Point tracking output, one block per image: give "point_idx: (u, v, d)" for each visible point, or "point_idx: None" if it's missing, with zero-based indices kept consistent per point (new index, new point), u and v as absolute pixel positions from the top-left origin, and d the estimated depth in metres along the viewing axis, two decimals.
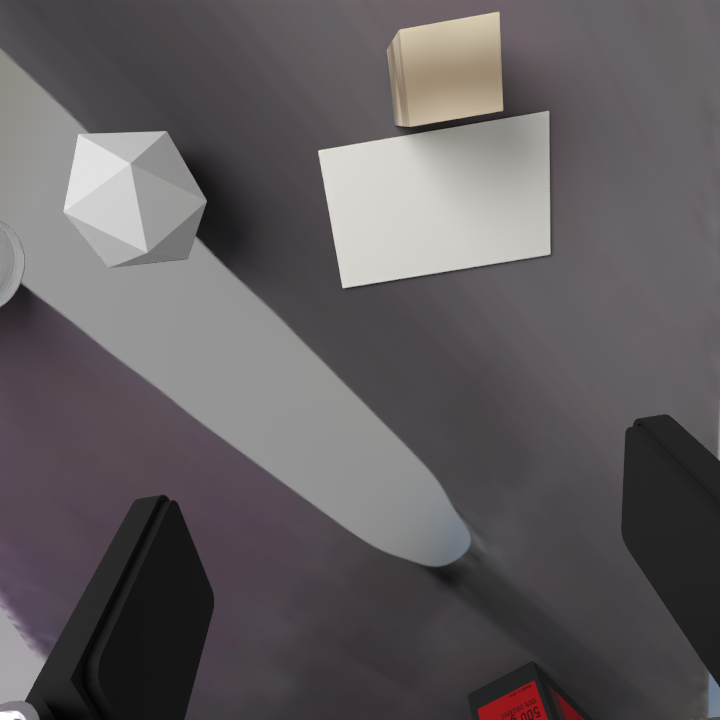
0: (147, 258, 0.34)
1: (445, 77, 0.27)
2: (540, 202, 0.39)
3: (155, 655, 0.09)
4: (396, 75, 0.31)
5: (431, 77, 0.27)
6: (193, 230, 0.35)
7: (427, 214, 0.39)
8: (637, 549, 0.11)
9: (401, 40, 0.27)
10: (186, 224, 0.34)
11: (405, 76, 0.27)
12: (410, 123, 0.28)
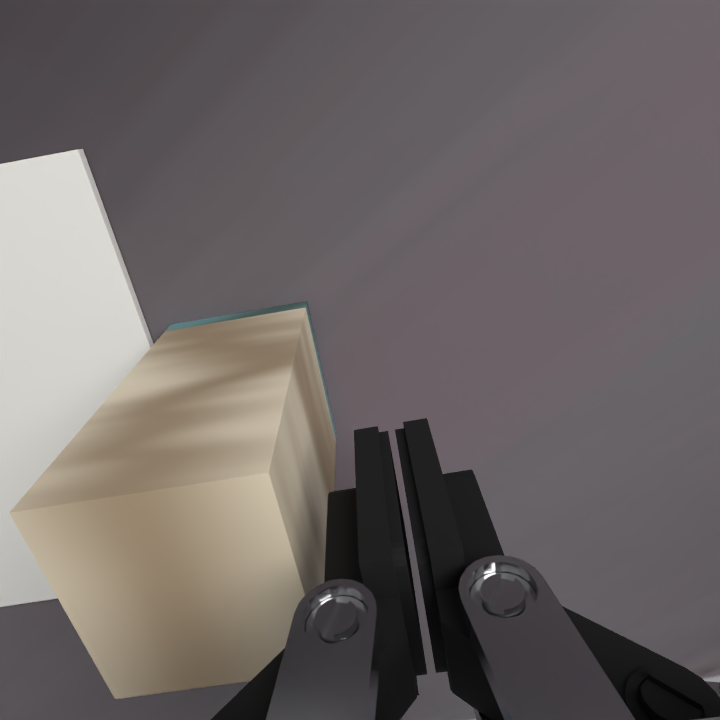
0: None
1: (164, 584, 0.10)
2: None
3: None
4: (218, 381, 0.12)
5: (159, 555, 0.09)
6: None
7: (1, 402, 0.18)
8: None
9: (241, 478, 0.09)
10: None
11: (147, 494, 0.09)
12: (20, 512, 0.09)
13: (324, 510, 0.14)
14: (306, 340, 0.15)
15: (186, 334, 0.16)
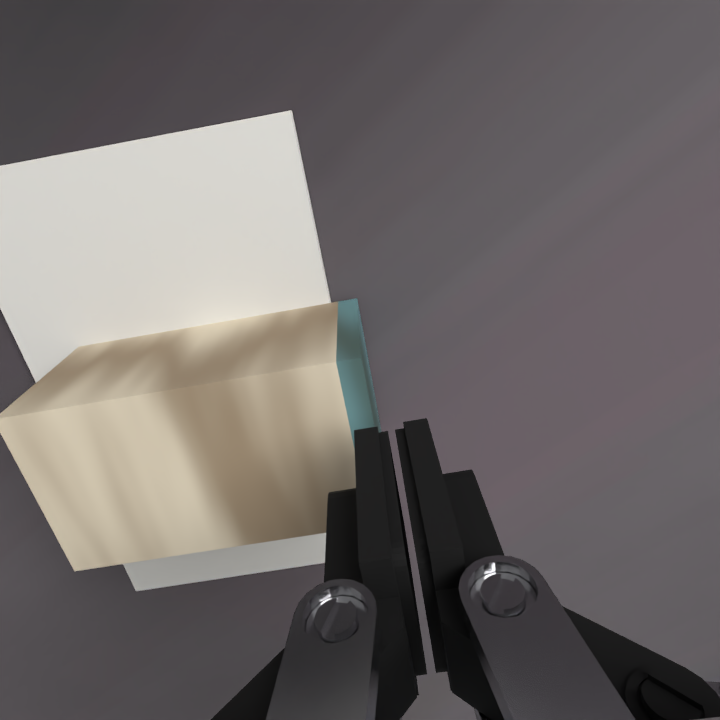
0: None
1: None
2: (228, 563, 0.21)
3: None
4: (174, 361, 0.14)
5: None
6: None
7: None
8: None
9: (6, 411, 0.13)
10: None
11: (39, 382, 0.15)
12: None
13: (190, 523, 0.14)
14: (285, 392, 0.13)
15: (315, 314, 0.16)
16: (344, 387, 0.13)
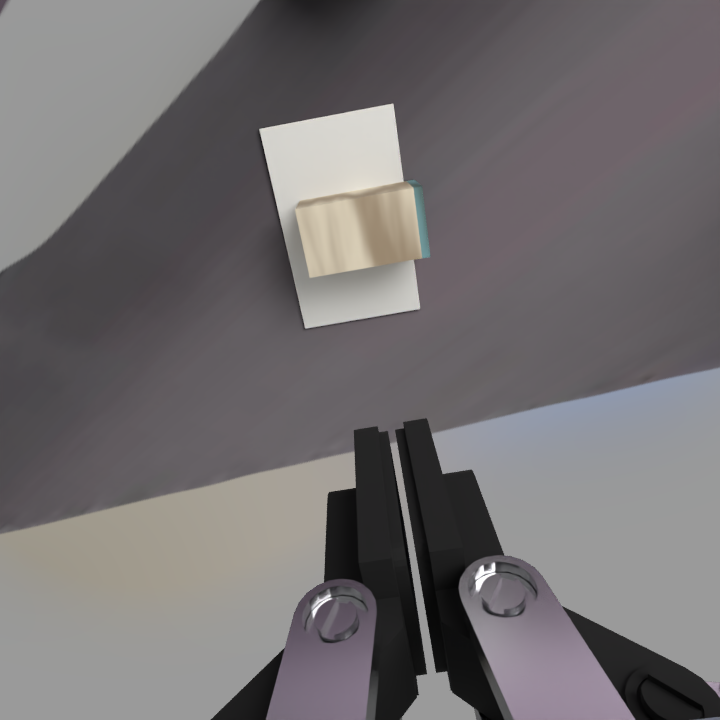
0: None
1: None
2: (349, 313, 0.45)
3: None
4: (350, 196, 0.39)
5: None
6: None
7: None
8: None
9: (295, 209, 0.38)
10: None
11: (297, 205, 0.39)
12: (300, 201, 0.41)
13: (356, 255, 0.39)
14: (395, 199, 0.37)
15: (399, 183, 0.40)
16: (415, 198, 0.37)
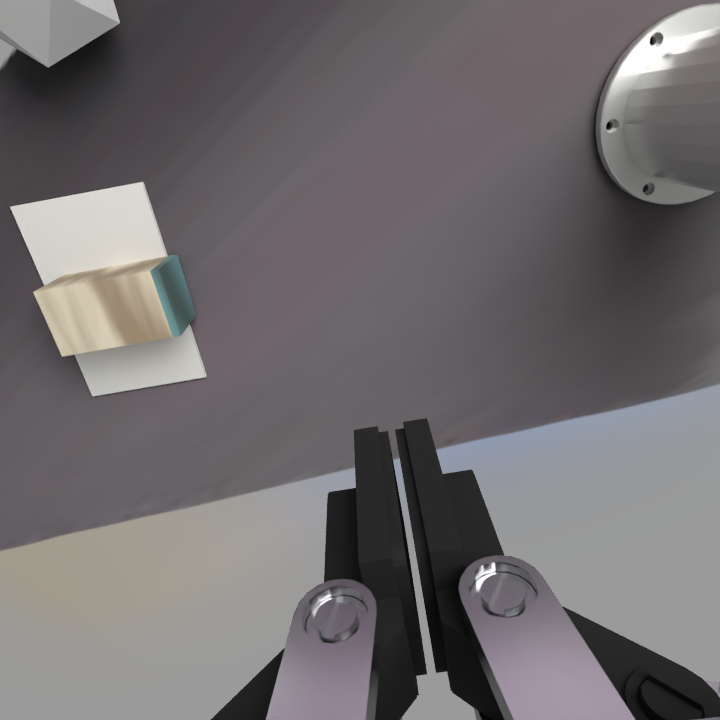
0: None
1: None
2: (134, 381, 0.45)
3: None
4: (98, 275, 0.38)
5: None
6: (14, 45, 0.31)
7: None
8: None
9: (37, 290, 0.37)
10: (12, 41, 0.30)
11: (48, 284, 0.39)
12: (63, 275, 0.41)
13: (104, 335, 0.38)
14: (134, 282, 0.37)
15: (157, 260, 0.40)
16: (154, 280, 0.37)
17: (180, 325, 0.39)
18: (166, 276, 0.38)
